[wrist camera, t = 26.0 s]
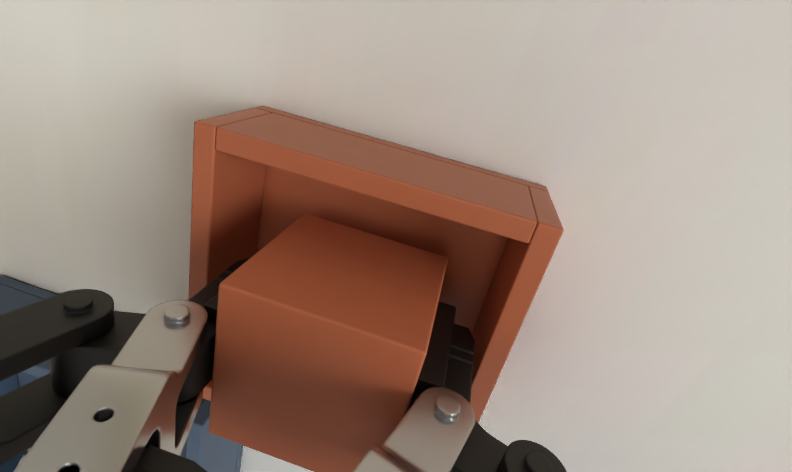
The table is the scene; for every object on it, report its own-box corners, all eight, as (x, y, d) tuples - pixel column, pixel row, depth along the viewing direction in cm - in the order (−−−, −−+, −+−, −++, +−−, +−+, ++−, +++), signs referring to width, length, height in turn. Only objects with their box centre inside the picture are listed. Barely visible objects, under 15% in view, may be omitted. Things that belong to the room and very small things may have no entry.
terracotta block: (448, 257, 12) (426, 353, 8) (410, 372, 14) (378, 497, 10) (304, 212, 13) (217, 283, 9) (285, 330, 15) (207, 433, 11)
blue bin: (253, 361, 18) (202, 426, 15) (235, 510, 22) (193, 585, 19) (0, 274, 19) (-97, 317, 16) (30, 431, 23) (-43, 490, 20)
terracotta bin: (547, 186, 13) (564, 229, 10) (457, 405, 17) (449, 488, 14) (262, 105, 14) (192, 120, 11) (240, 332, 18) (184, 392, 14)
